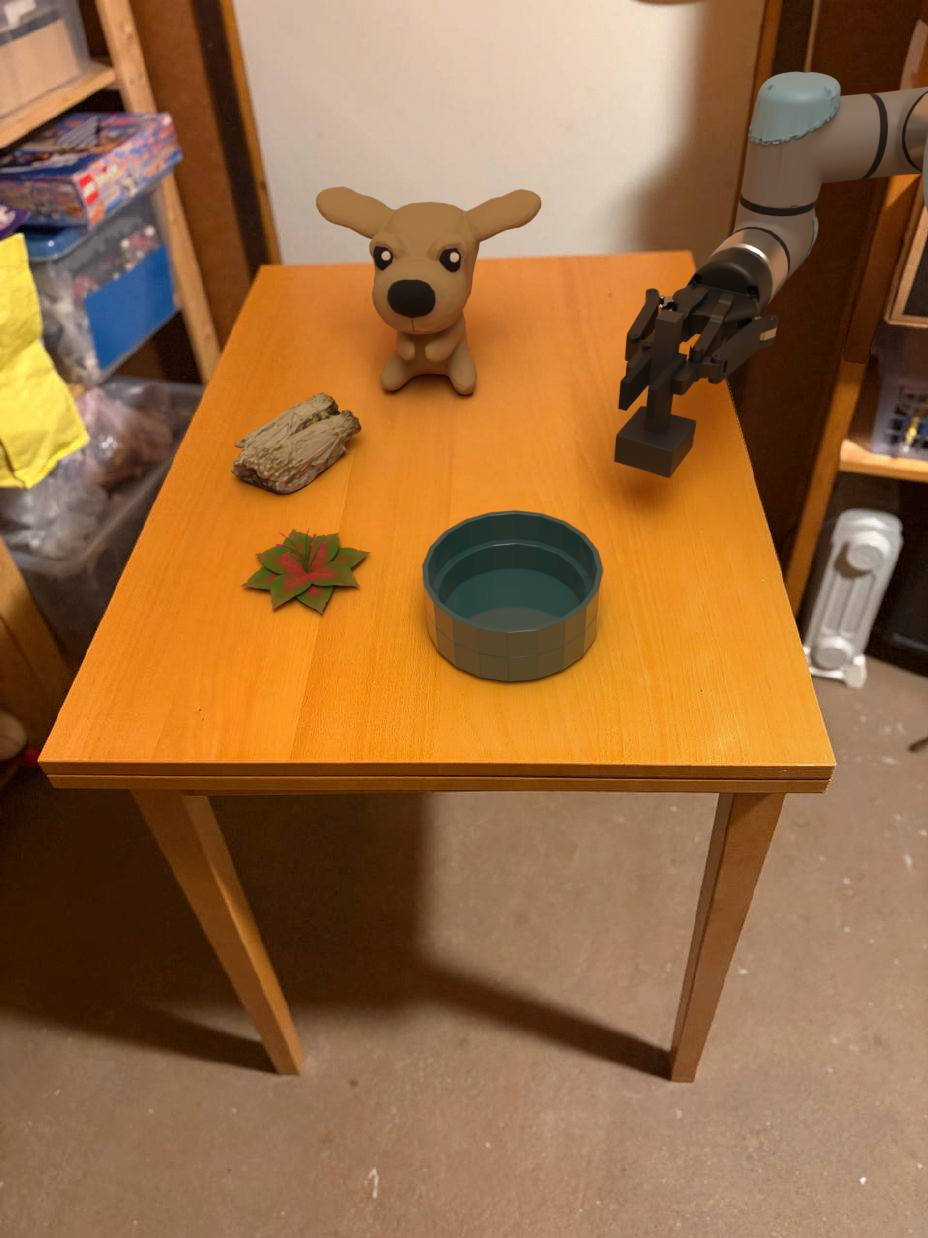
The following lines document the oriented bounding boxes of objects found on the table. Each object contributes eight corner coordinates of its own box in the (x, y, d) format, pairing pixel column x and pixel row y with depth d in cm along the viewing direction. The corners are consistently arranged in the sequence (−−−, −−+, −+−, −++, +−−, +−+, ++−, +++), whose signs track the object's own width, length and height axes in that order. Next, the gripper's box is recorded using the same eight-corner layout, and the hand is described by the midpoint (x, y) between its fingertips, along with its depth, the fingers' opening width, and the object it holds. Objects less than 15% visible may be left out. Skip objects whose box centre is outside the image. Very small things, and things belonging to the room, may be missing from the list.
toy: (313, 412, 107) (281, 241, 93) (353, 328, 121) (331, 168, 107) (527, 423, 104) (528, 247, 90) (544, 336, 117) (547, 170, 103)
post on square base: (692, 447, 88) (714, 308, 78) (669, 478, 85) (688, 338, 75) (638, 431, 90) (652, 294, 80) (613, 461, 87) (624, 322, 77)
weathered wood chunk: (310, 417, 107) (302, 376, 103) (372, 445, 102) (366, 402, 98) (215, 480, 99) (203, 437, 95) (278, 512, 95) (268, 469, 91)
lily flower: (393, 552, 90) (388, 515, 86) (327, 634, 82) (320, 597, 79) (290, 521, 94) (281, 484, 90) (218, 597, 86) (206, 560, 83)
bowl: (625, 598, 84) (631, 543, 79) (547, 711, 75) (549, 657, 70) (483, 545, 90) (481, 492, 85) (395, 645, 81) (387, 591, 76)
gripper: (802, 336, 91) (715, 461, 78) (661, 304, 97) (557, 415, 83) (820, 261, 86) (729, 381, 72) (669, 232, 92) (559, 338, 78)
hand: (637, 399), depth 78 cm, fingers closed on post on square base, 2 cm apart
